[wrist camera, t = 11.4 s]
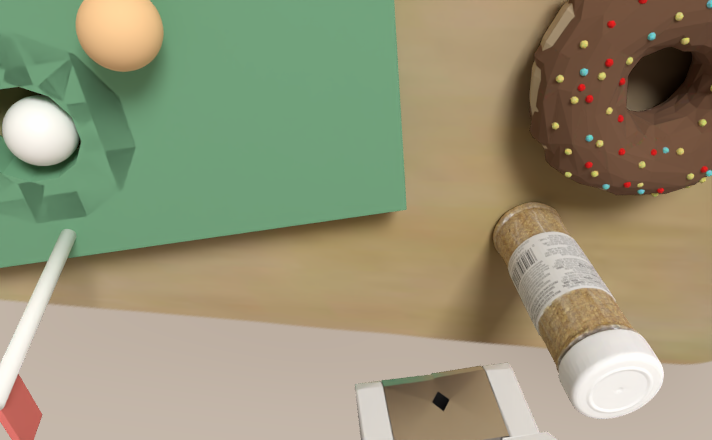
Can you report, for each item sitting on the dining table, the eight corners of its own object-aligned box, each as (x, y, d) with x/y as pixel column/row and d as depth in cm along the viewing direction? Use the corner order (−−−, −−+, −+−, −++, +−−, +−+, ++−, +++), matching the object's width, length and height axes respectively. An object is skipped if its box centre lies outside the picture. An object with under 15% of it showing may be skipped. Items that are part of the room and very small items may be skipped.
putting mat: (-147, -21, 29) (-424, 110, 17) (380, -87, 30) (452, -4, 18) (5, 266, 38) (-108, 474, 27) (400, 210, 39) (455, 387, 28)
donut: (660, 192, 41) (703, 237, 37) (475, 131, 37) (501, 174, 33) (821, -26, 34) (898, 0, 30) (615, -131, 30) (670, -117, 26)
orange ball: (75, -19, 27) (52, 4, 25) (156, -29, 28) (143, -7, 25) (101, 59, 29) (83, 89, 27) (177, 49, 30) (167, 78, 27)
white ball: (70, 78, 32) (-1, 92, 32) (57, 105, 30) (-20, 120, 29) (94, 139, 34) (28, 152, 34) (85, 170, 32) (12, 185, 31)
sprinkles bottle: (526, 266, 43) (615, 433, 32) (476, 238, 41) (552, 405, 30) (574, 217, 41) (687, 377, 30) (524, 186, 39) (624, 344, 28)
